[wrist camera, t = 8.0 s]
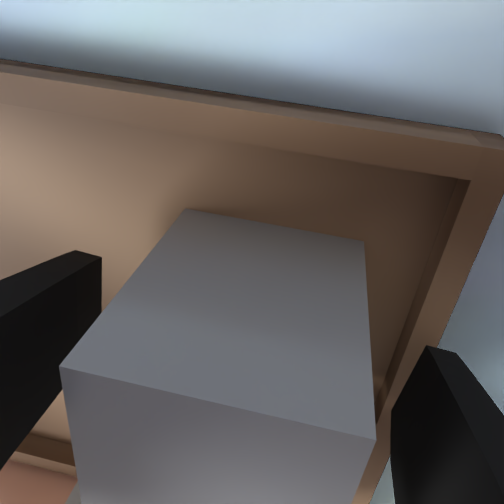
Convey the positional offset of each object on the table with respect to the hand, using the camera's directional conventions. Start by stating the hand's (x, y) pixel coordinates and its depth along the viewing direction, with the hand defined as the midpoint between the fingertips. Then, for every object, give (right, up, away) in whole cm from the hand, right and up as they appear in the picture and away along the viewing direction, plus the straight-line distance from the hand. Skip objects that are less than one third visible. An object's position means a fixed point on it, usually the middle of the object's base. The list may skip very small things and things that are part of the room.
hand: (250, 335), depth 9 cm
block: (0, +1, +1) cm, 1 cm away
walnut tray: (-2, 0, +3) cm, 4 cm away
